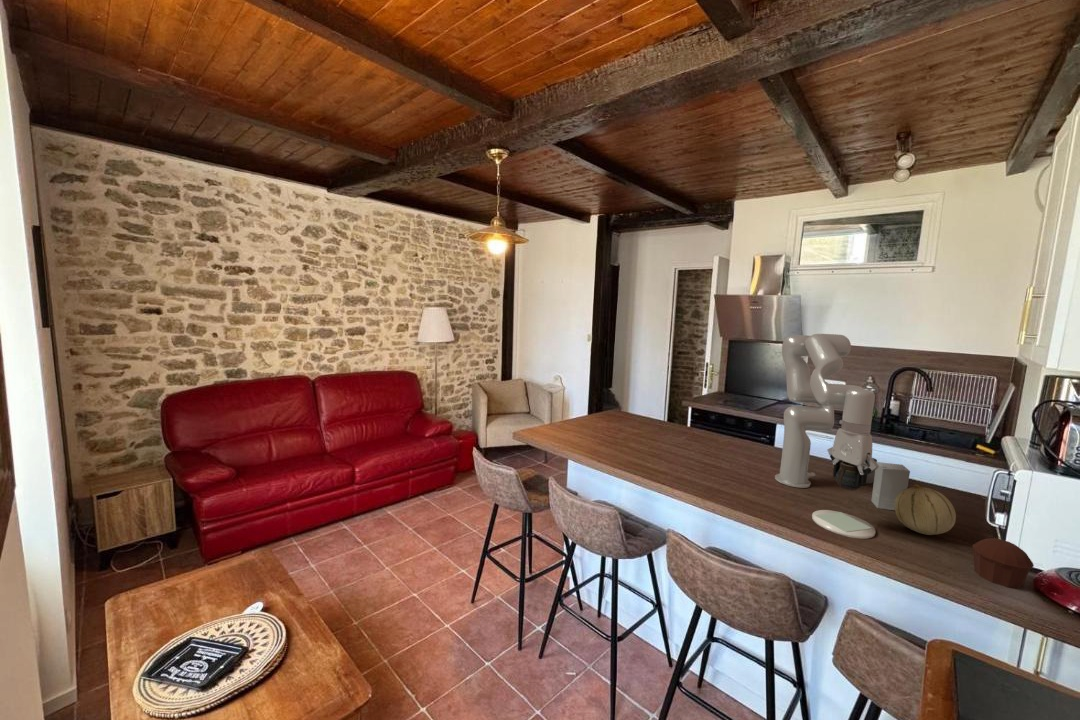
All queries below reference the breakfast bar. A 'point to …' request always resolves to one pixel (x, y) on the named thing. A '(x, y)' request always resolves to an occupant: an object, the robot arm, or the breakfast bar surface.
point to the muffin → (1001, 562)
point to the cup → (870, 475)
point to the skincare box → (889, 484)
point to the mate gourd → (847, 476)
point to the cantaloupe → (925, 510)
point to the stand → (843, 524)
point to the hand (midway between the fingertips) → (848, 480)
